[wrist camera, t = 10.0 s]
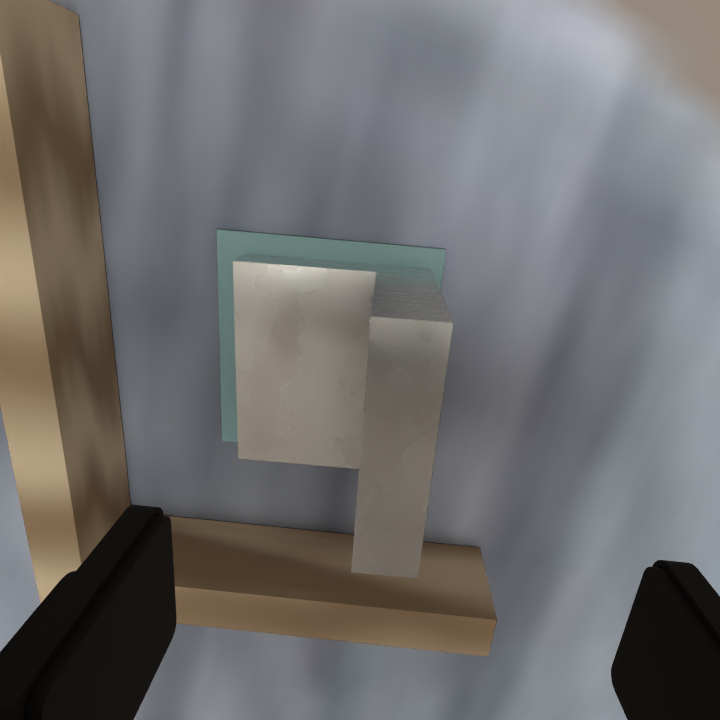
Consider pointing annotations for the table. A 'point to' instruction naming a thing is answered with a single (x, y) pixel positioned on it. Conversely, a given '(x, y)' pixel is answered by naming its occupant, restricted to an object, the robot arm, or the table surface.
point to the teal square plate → (279, 245)
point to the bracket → (346, 386)
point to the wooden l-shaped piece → (102, 406)
